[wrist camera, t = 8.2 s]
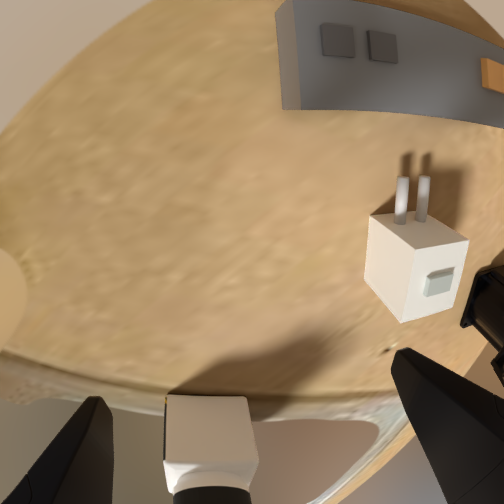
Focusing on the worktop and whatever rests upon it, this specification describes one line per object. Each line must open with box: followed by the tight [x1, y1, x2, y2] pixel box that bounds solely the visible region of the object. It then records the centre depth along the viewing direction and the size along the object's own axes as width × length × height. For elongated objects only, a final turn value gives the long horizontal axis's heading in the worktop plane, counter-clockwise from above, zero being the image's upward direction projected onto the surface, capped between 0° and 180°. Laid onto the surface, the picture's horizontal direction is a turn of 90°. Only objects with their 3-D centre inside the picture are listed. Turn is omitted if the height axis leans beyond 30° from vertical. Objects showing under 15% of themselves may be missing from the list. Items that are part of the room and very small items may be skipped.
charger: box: [364, 175, 469, 323], centre depth 18 cm, size 8×4×6 cm, turn 4°
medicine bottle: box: [163, 394, 259, 504], centre depth 21 cm, size 7×7×12 cm
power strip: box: [275, 0, 504, 129], centre depth 14 cm, size 6×16×4 cm, turn 94°
